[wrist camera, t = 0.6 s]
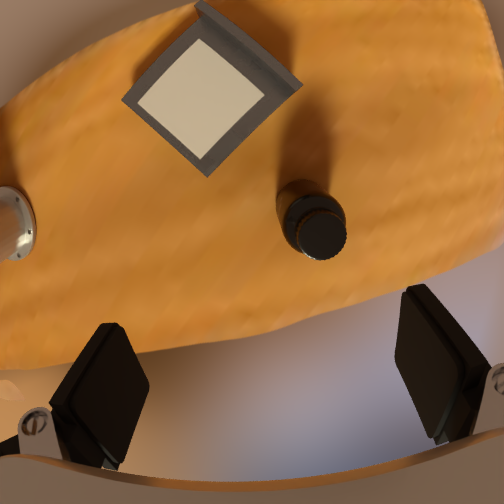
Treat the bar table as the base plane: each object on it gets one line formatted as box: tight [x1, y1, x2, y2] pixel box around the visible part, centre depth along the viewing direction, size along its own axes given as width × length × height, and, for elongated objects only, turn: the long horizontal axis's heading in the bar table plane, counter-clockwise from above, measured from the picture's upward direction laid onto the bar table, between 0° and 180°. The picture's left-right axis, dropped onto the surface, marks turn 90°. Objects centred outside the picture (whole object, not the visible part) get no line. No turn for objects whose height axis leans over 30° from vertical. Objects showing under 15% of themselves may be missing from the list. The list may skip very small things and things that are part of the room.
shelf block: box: [121, 0, 303, 177], centre depth 30 cm, size 14×14×8 cm
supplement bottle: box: [276, 180, 347, 260], centre depth 34 cm, size 7×7×12 cm
